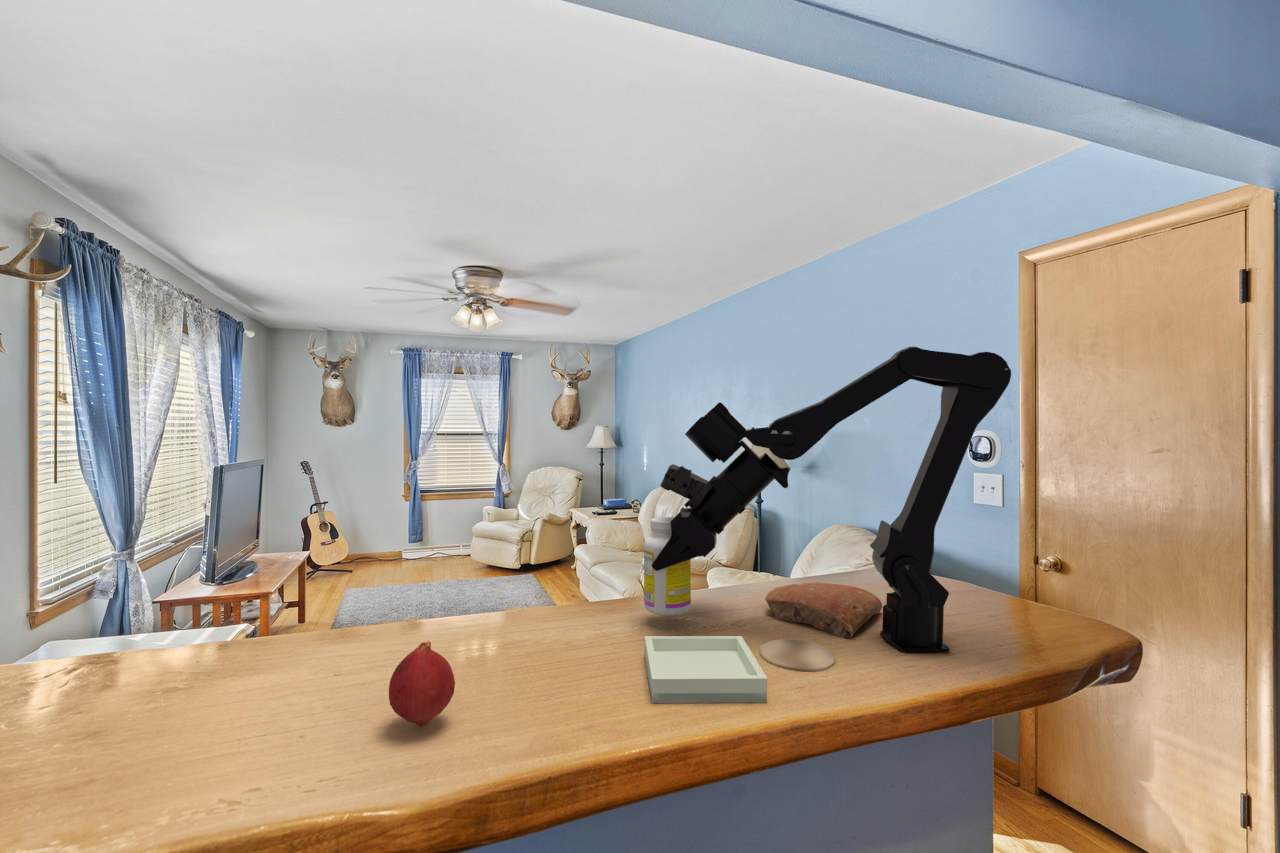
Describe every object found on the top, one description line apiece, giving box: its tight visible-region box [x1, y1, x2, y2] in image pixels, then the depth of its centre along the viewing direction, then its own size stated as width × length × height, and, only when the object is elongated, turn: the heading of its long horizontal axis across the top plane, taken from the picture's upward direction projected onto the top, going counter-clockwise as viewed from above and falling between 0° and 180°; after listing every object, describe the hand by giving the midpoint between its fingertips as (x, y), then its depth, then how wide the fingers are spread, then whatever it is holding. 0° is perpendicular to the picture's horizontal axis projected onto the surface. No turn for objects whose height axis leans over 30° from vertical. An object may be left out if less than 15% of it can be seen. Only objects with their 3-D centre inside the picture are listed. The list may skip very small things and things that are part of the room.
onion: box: [388, 640, 456, 727], centre depth 57 cm, size 6×6×8 cm
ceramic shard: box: [765, 582, 883, 640], centre depth 91 cm, size 15×6×15 cm
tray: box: [643, 635, 768, 704], centre depth 68 cm, size 12×12×2 cm
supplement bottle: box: [643, 516, 692, 616], centre depth 86 cm, size 7×7×13 cm
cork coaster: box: [759, 638, 836, 672], centre depth 75 cm, size 9×9×1 cm
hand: (657, 562), depth 86 cm, fingers closed on supplement bottle, 7 cm apart
